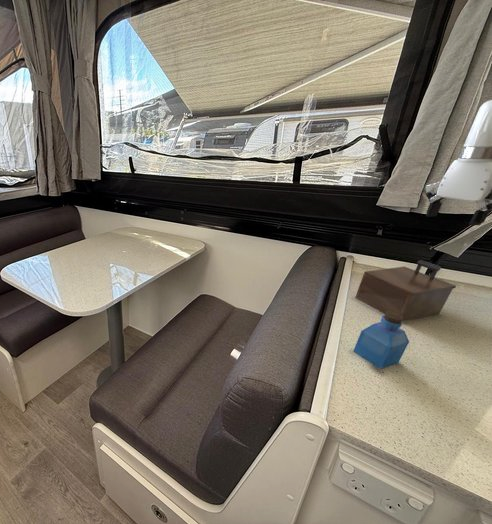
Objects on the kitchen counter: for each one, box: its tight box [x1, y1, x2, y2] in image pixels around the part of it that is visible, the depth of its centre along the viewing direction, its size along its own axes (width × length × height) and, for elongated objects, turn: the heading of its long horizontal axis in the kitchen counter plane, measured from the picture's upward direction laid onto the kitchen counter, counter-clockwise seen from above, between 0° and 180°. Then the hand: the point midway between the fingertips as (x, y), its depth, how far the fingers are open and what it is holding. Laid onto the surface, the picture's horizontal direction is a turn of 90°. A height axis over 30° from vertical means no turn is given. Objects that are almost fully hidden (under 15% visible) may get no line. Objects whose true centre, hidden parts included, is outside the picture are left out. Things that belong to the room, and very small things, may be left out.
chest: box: [354, 273, 453, 322], centre depth 83 cm, size 16×14×9 cm
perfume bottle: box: [353, 311, 410, 370], centre depth 62 cm, size 6×6×12 cm
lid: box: [363, 259, 457, 295], centre depth 80 cm, size 16×14×5 cm
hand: (451, 220), depth 75 cm, fingers open, 9 cm apart
